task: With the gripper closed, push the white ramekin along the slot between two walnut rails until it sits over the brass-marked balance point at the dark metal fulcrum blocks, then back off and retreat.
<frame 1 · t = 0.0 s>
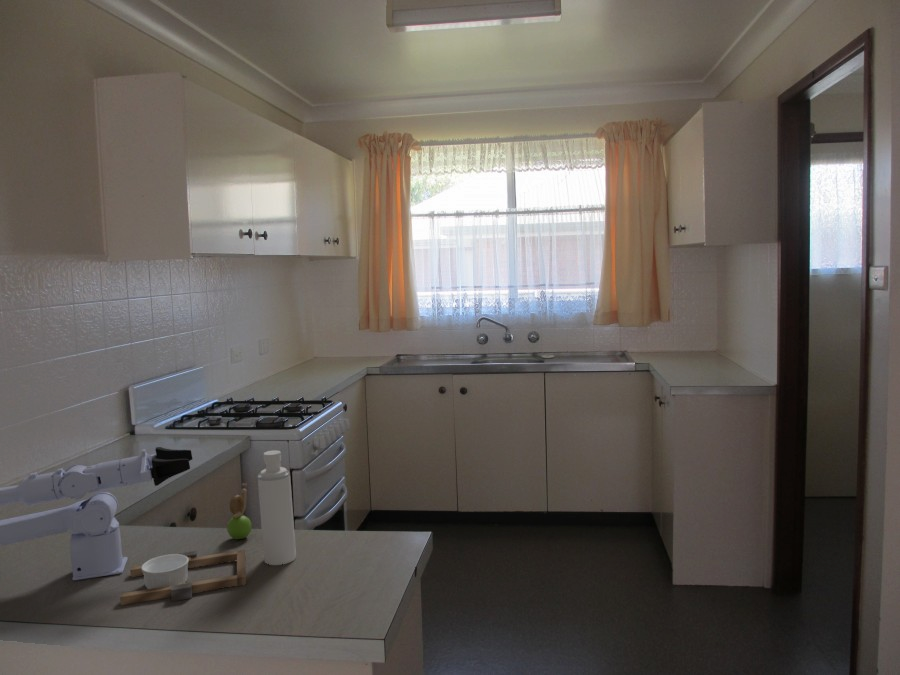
hand: (190, 459, 155), 22 cm above the countertop, tool horizontal, fingers open, 7 cm apart
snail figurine: (241, 538, 167), on the countertop
white bottle: (280, 559, 154), on the countertop
brown flat frame: (185, 579, 146), on the countertop
ramekin: (167, 584, 145), resting in brown flat frame
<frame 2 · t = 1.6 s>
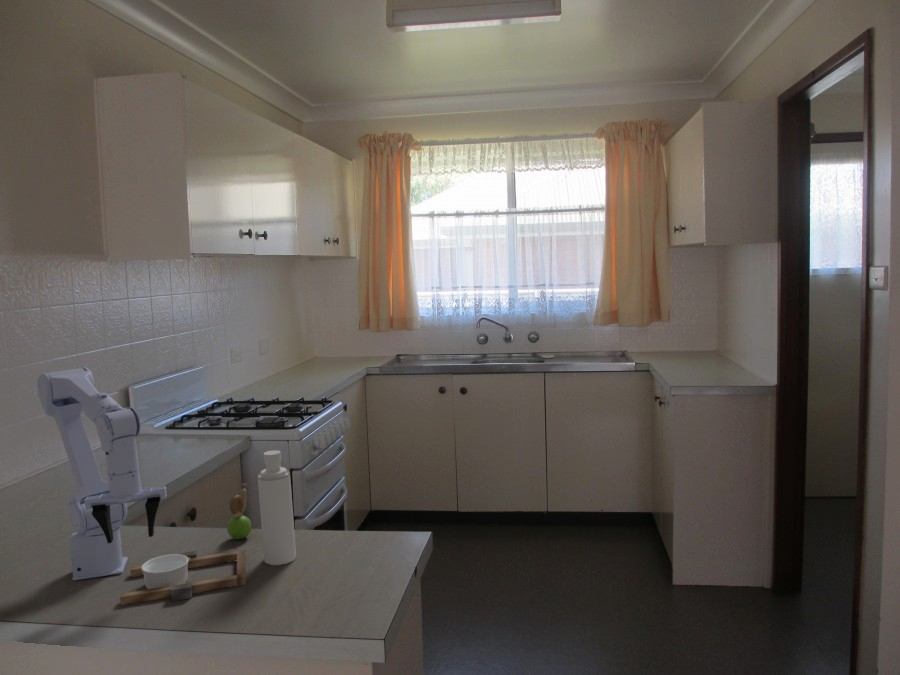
hand: (131, 538, 142), 10 cm above the countertop, tool pointing down, fingers open, 7 cm apart
nothing on the countertop moved.
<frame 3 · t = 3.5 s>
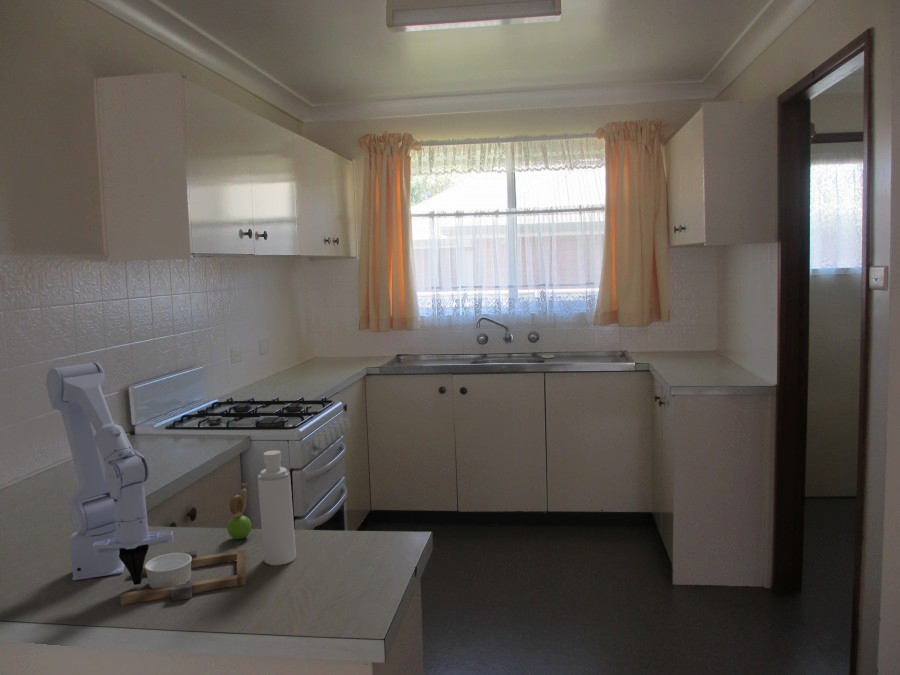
hand: (137, 582, 143), 1 cm above the countertop, tool pointing down, fingers closed
ramekin: (170, 582, 145), resting in brown flat frame, touching gripper
everything else where it was.
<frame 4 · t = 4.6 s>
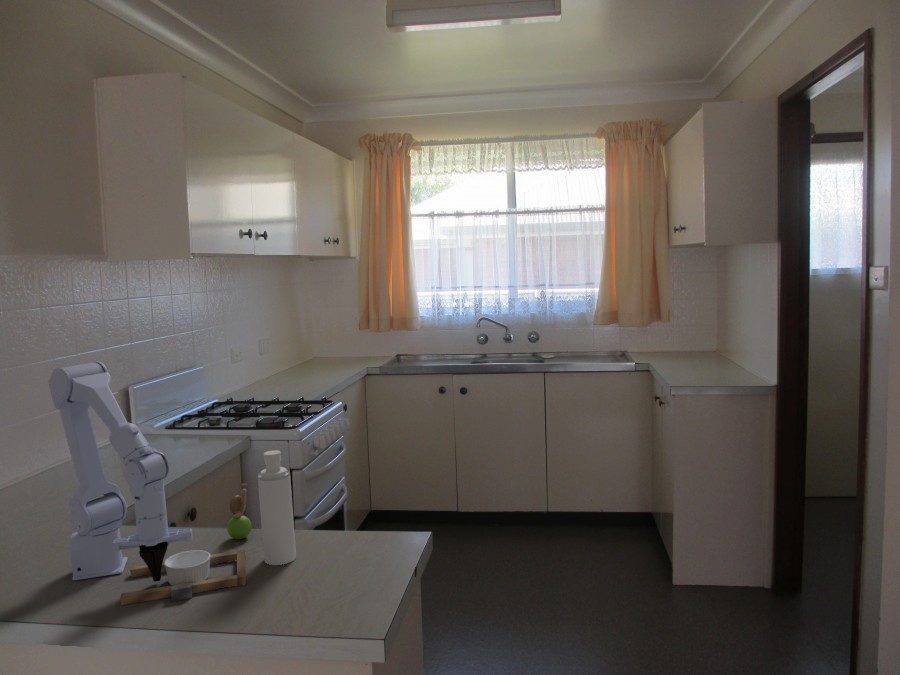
hand: (157, 579, 144), 1 cm above the countertop, tool pointing down, fingers closed
ramekin: (189, 579, 146), resting in brown flat frame, touching gripper
everything else where it was.
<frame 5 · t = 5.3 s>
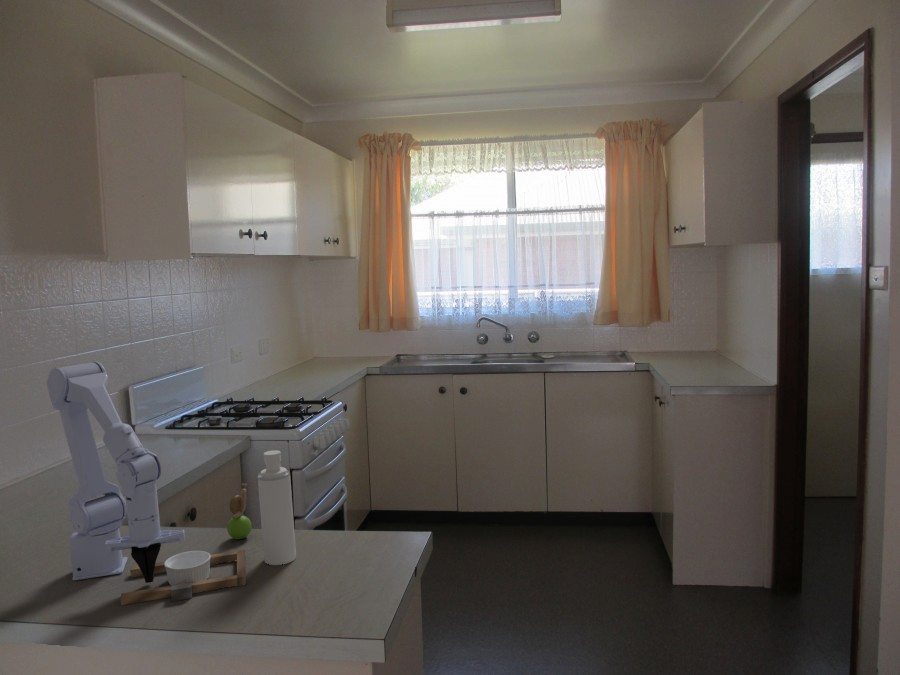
hand: (149, 580, 144), 1 cm above the countertop, tool pointing down, fingers closed
ramekin: (189, 580, 146), resting in brown flat frame
everything else where it was.
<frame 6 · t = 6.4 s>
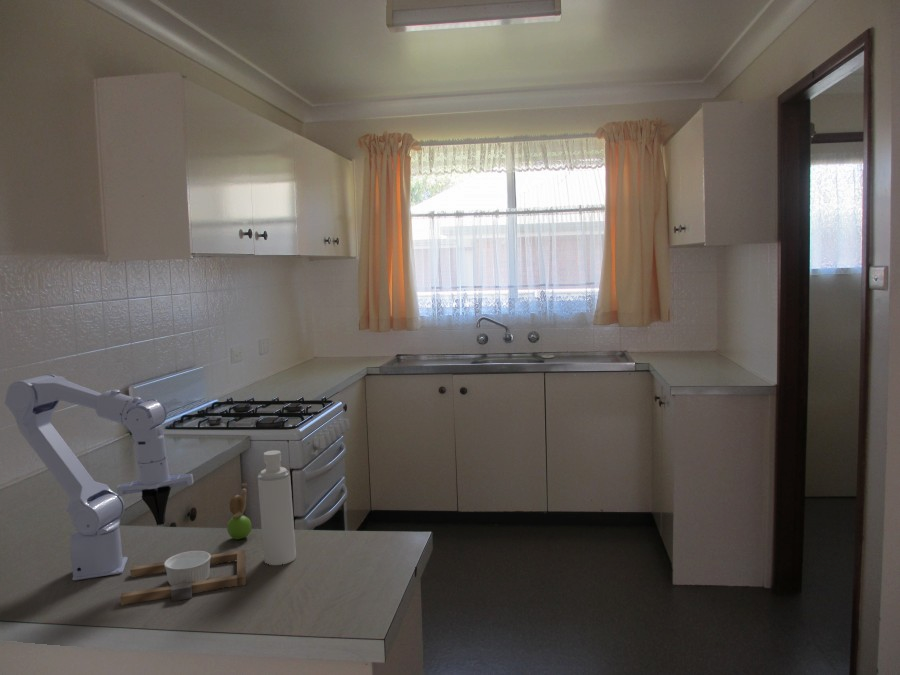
hand: (161, 523, 149), 10 cm above the countertop, tool pointing down, fingers closed
nothing on the countertop moved.
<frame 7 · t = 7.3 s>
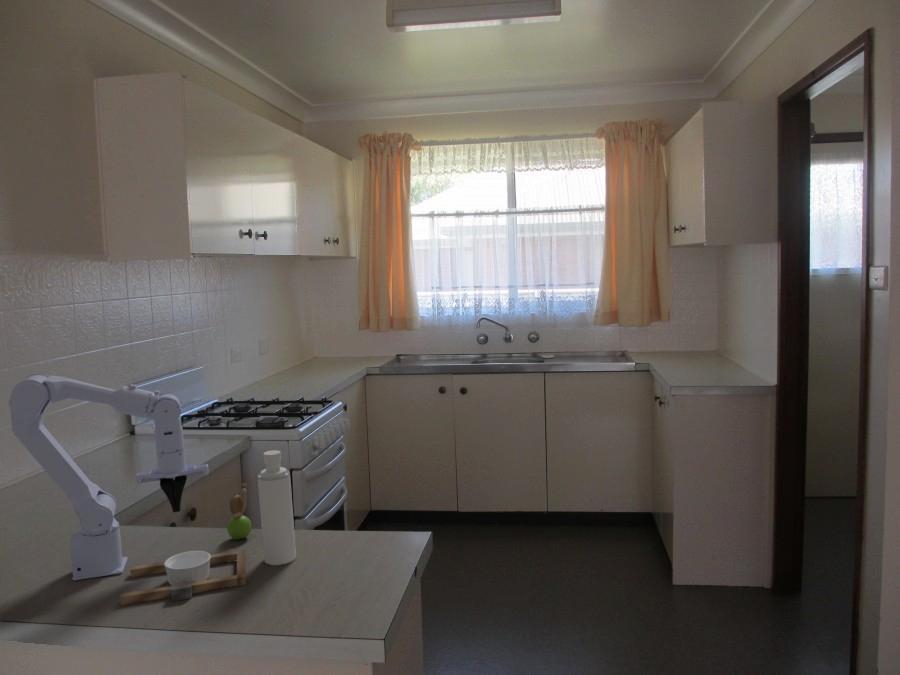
hand: (176, 510, 157), 10 cm above the countertop, tool pointing down, fingers closed
nothing on the countertop moved.
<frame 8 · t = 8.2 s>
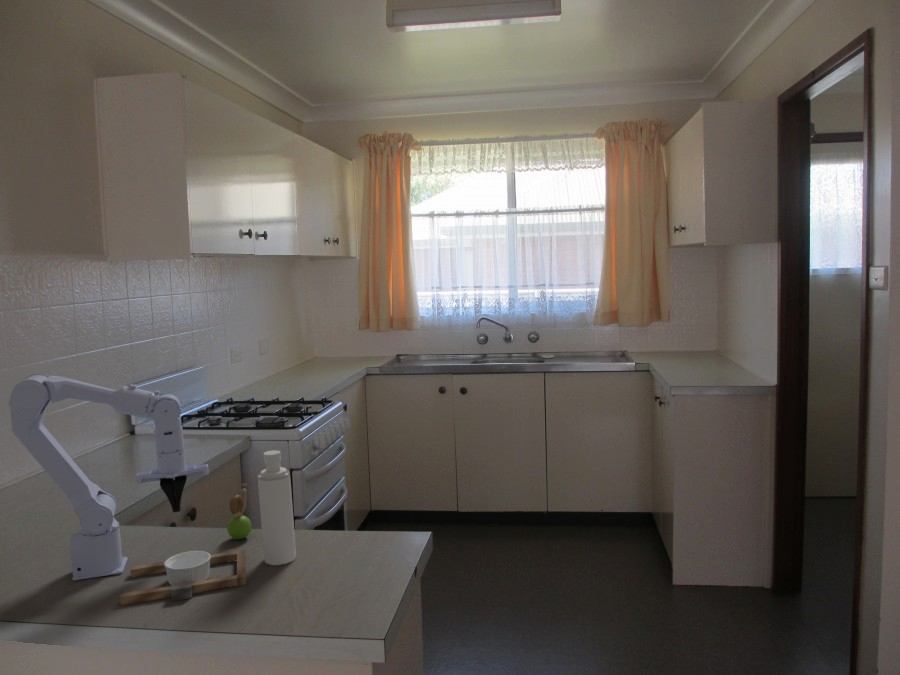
hand: (176, 510, 157), 10 cm above the countertop, tool pointing down, fingers closed
nothing on the countertop moved.
at the end: ramekin 0.8 cm off-centre on the brown flat frame, point 0.0 cm above the brown flat frame's base; ramekin tilted 0°; white bottle moved 0.2 cm from its start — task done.
